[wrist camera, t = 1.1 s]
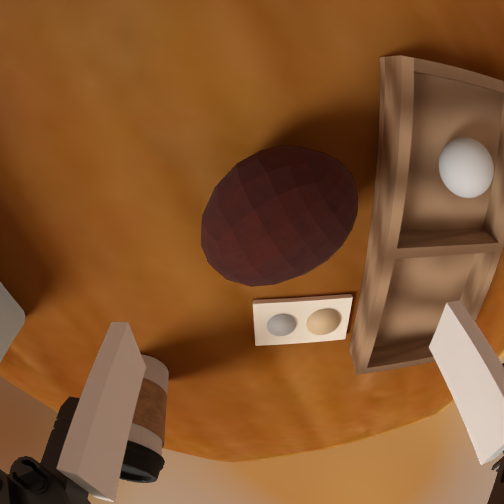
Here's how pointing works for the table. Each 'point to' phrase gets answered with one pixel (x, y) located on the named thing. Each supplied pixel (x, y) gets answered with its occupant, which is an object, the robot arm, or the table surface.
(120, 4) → the table surface
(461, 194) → the ball
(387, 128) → the divided wooden tray
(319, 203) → the dark brown ovoid
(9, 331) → the white rounded block
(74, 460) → the robot arm
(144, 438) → the coffee cup
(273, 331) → the tile
